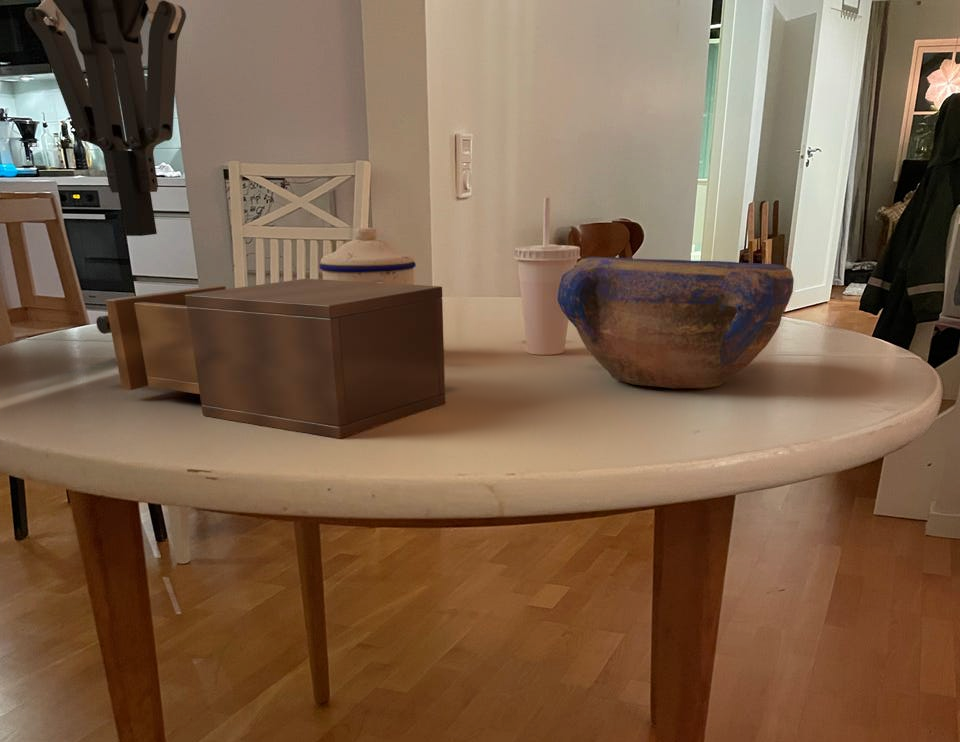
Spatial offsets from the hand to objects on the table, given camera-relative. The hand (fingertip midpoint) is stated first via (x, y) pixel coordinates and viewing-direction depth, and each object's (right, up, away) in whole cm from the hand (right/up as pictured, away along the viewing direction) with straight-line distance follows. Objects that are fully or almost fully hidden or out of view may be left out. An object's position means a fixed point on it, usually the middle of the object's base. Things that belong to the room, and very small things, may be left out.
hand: (141, 234), depth 80 cm
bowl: (+46, -13, -1) cm, 48 cm away
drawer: (+7, -14, -4) cm, 16 cm away
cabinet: (+18, -18, -10) cm, 27 cm away
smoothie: (+36, -7, +12) cm, 39 cm away
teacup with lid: (+20, -8, +9) cm, 23 cm away
